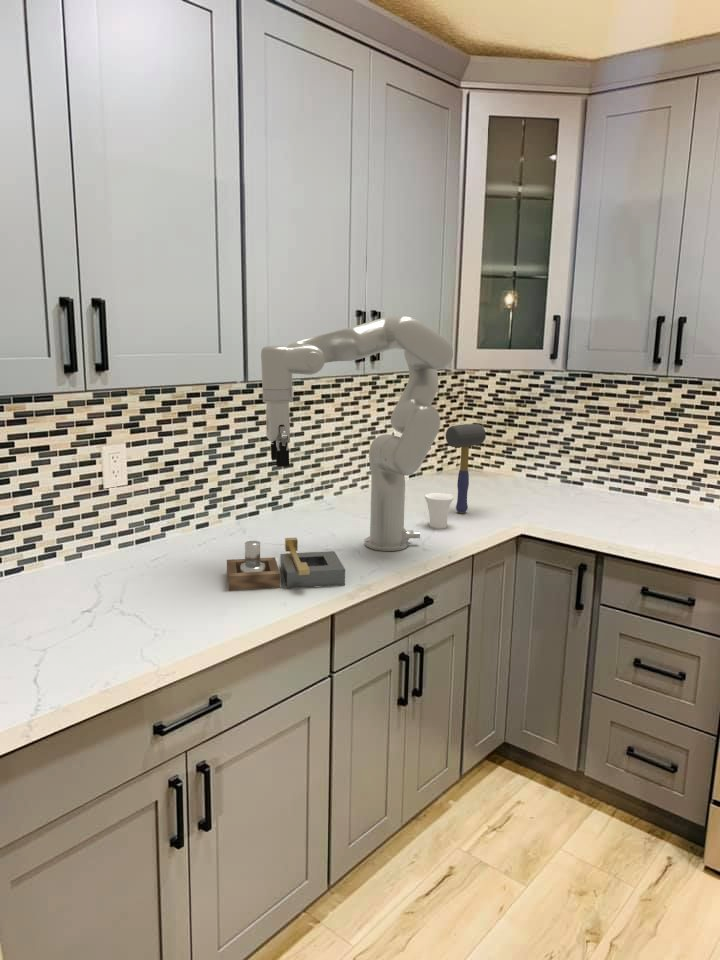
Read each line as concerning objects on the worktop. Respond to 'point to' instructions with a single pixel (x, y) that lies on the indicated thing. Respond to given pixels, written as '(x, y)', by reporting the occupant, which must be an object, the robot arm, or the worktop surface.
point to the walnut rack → (253, 575)
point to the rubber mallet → (464, 455)
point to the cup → (438, 509)
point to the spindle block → (313, 570)
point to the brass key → (296, 556)
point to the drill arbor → (252, 558)
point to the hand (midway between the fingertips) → (280, 462)
